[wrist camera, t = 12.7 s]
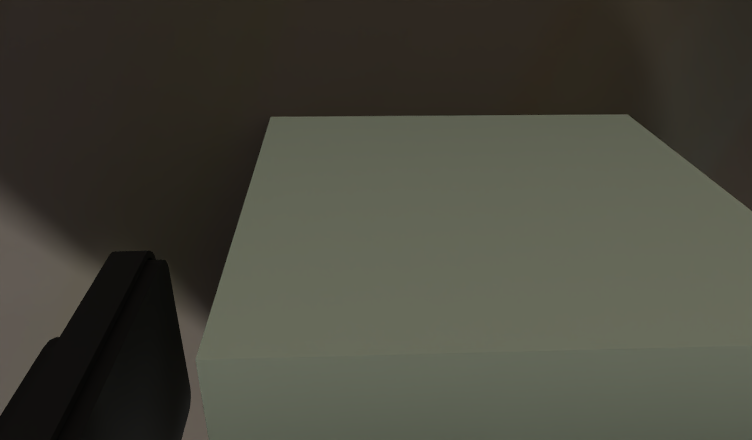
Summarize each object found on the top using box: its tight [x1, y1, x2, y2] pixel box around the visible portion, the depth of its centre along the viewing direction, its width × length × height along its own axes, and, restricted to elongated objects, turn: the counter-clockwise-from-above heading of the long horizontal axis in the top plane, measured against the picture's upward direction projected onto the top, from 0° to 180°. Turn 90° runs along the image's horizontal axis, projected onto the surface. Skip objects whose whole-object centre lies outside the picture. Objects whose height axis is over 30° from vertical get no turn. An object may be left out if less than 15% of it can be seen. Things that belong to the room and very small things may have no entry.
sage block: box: [196, 114, 752, 440], centre depth 9 cm, size 6×6×6 cm
